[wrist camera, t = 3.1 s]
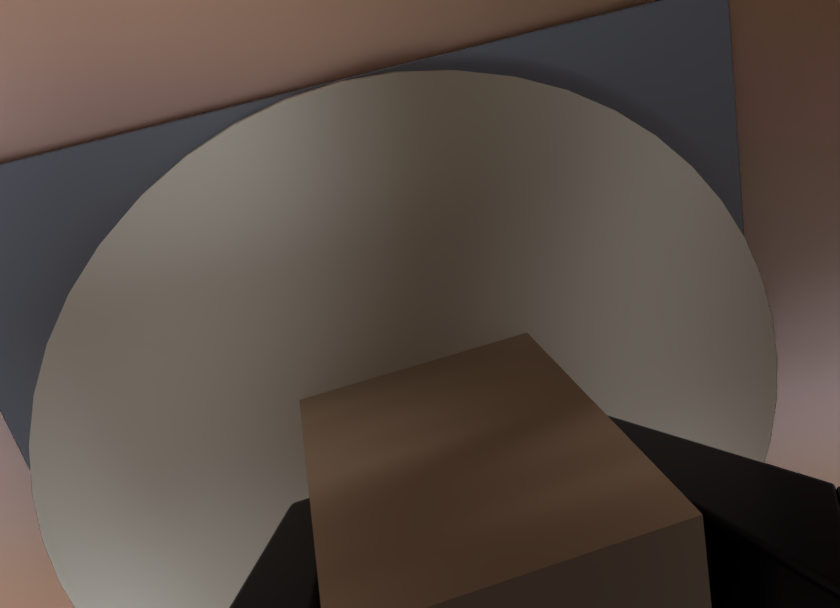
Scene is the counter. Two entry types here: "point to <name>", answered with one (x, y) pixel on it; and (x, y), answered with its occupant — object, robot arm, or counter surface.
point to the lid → (404, 358)
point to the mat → (514, 56)
